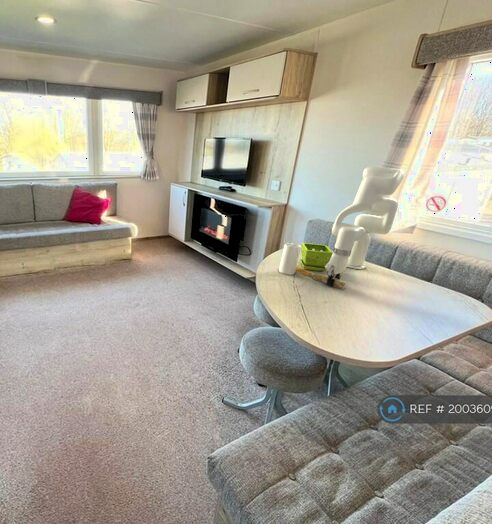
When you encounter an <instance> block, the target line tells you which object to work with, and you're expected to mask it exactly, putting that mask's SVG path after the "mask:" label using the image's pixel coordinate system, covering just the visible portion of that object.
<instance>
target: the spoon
mask: <svg viewBox="0 0 492 524" xmlns="http://www.w3.org/2000/svg"><path fill="white" fill-rule="evenodd" d="M312 279H313V280H314V281H317V282H322V283H325V284H326V283H327V280H328V275H327V274H325V273H324V274H322V273H318V272H317V273H314V274H313V278H312ZM346 284H347V281H344V280H342V279H340V280H339V279H337V278H335V281H334V284H333V286H332V287H335V288H338V289H340V290H344V289H345V287H346Z"/></svg>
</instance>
